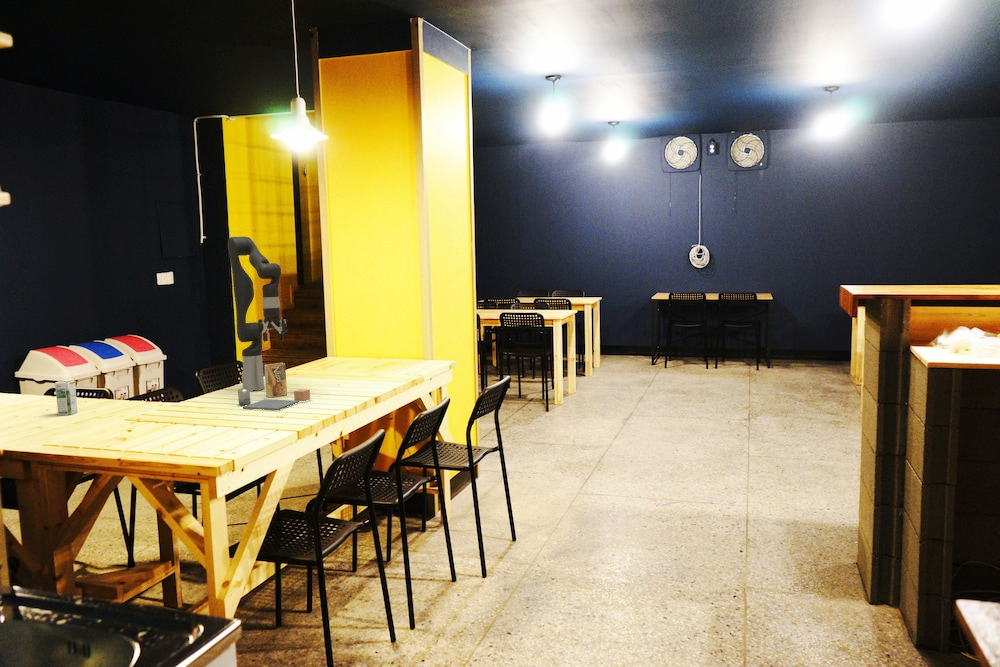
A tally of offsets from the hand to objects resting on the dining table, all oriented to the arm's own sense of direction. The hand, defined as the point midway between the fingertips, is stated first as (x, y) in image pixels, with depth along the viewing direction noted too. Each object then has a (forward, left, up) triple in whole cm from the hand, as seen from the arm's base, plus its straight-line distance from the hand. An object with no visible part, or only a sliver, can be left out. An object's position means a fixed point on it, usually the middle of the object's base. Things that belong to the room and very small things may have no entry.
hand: (273, 341), depth 348 cm
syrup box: (-72, -50, -26) cm, 92 cm away
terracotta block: (+18, -7, -26) cm, 33 cm away
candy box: (-1, +1, -26) cm, 26 cm away
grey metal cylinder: (-4, -19, -26) cm, 33 cm away
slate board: (+10, -19, -26) cm, 34 cm away
